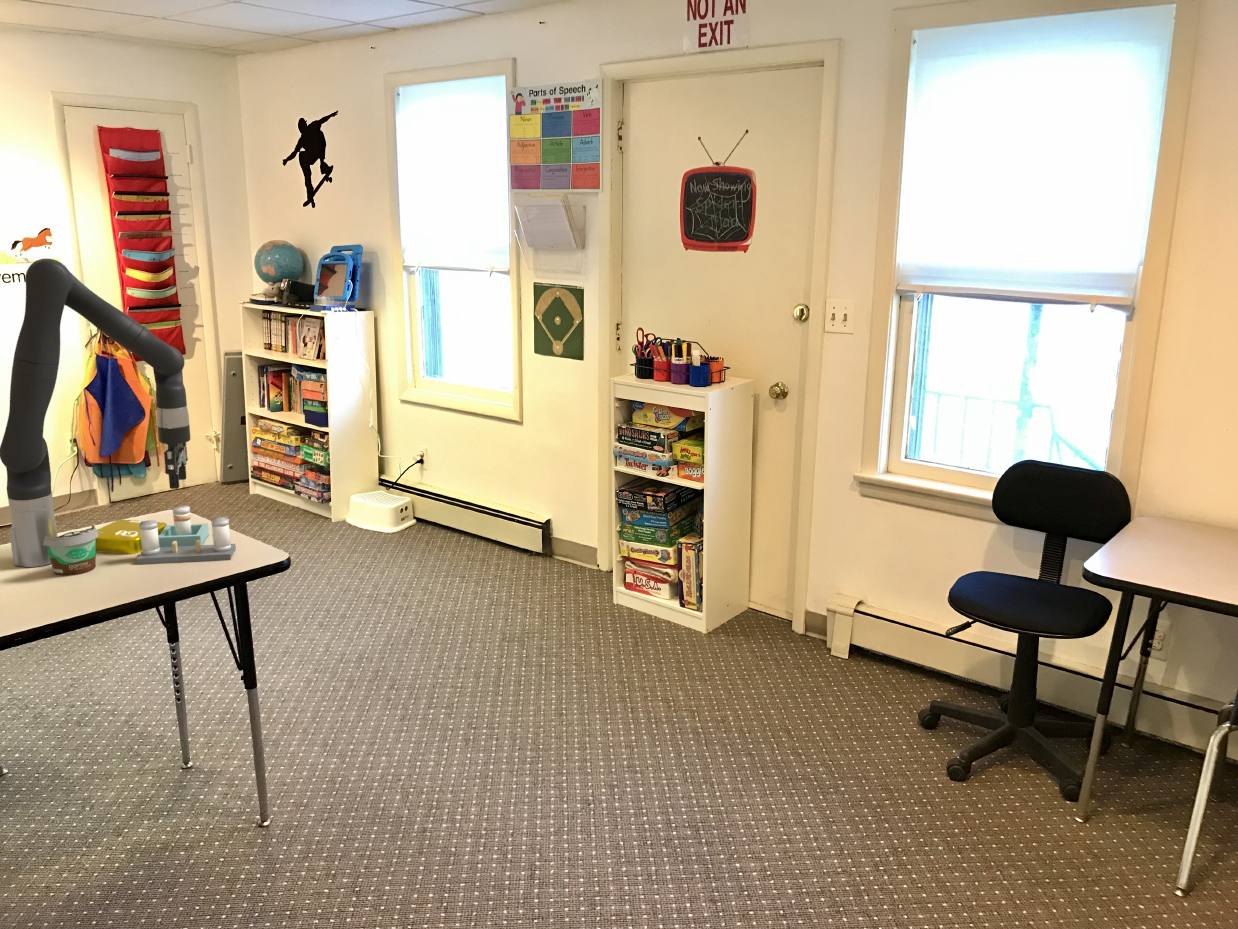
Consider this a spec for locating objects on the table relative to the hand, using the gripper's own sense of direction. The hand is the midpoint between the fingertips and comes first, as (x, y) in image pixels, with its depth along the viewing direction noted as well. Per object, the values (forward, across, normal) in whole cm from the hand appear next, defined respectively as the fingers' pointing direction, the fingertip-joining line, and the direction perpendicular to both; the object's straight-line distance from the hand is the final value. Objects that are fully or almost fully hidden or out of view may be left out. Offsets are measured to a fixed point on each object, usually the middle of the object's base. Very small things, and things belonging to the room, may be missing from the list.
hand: (178, 483), depth 246 cm
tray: (+16, 0, 0) cm, 16 cm away
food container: (+17, +18, -20) cm, 32 cm away
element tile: (+17, -2, -14) cm, 22 cm away
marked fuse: (+16, 0, 0) cm, 16 cm away
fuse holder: (+16, +11, +3) cm, 20 cm away
